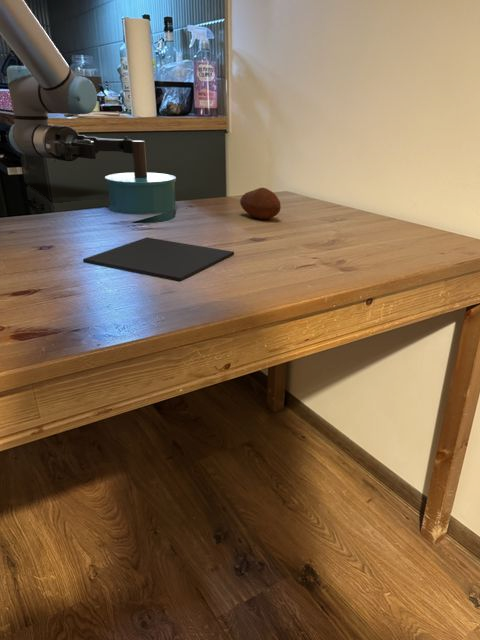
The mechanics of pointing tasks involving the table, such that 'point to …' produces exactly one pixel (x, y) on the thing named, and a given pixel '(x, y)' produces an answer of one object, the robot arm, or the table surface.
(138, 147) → the tin lid
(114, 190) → the green round tin
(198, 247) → the placemat
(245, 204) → the potato
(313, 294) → the table surface
